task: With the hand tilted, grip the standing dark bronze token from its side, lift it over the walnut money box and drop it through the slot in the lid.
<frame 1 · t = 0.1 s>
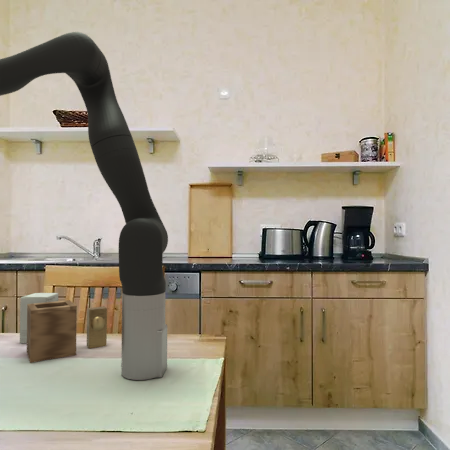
coin box: (51, 353, 91), on the table
token: (96, 345, 97), on the table
supplement box: (39, 340, 102), on the table
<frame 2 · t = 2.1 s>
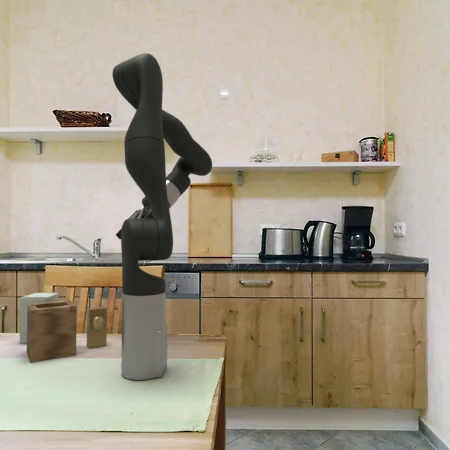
hand: (122, 237, 101), 29 cm above the table, tool tilted 45°, fingers open, 8 cm apart
nothing on the table moved.
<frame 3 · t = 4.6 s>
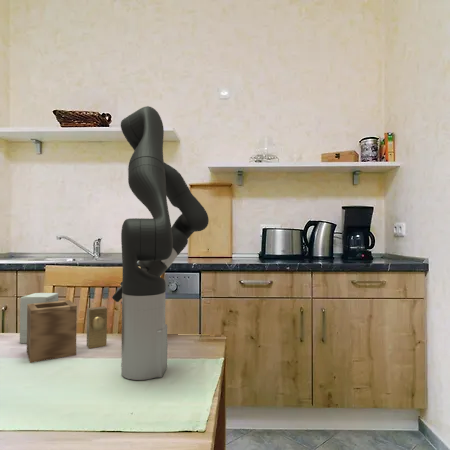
hand: (118, 302, 100), 11 cm above the table, tool tilted 45°, fingers open, 8 cm apart
nothing on the table moved.
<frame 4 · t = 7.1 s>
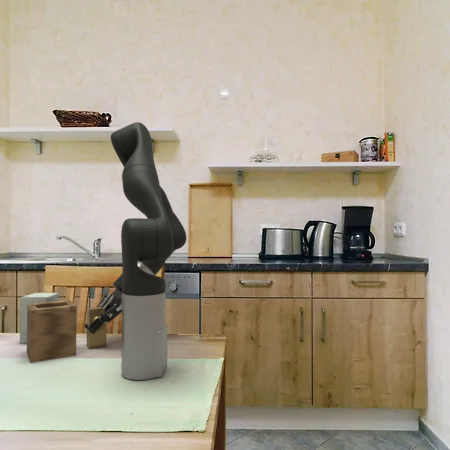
hand: (88, 330, 96), 4 cm above the table, tool tilted 45°, fingers closed on token, 2 cm apart
token: (96, 345, 97), on the table, touching gripper
everything else where it was.
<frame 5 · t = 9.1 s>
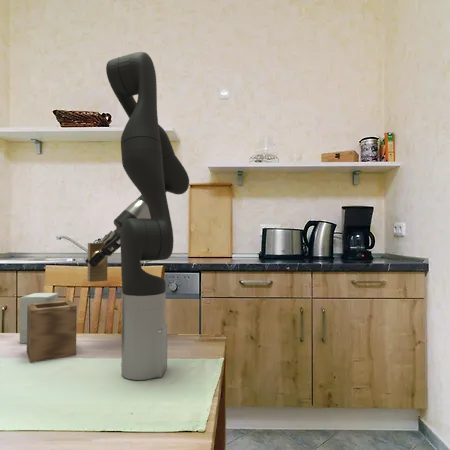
hand: (89, 264, 96), 22 cm above the table, tool tilted 45°, fingers closed on token, 2 cm apart
token: (97, 280, 97), point 17 cm above the table, touching gripper
everything else where it was.
when the fingers open (18 cm above the table, at t = 10.9 s): token drops 13 cm, resting on coin box.
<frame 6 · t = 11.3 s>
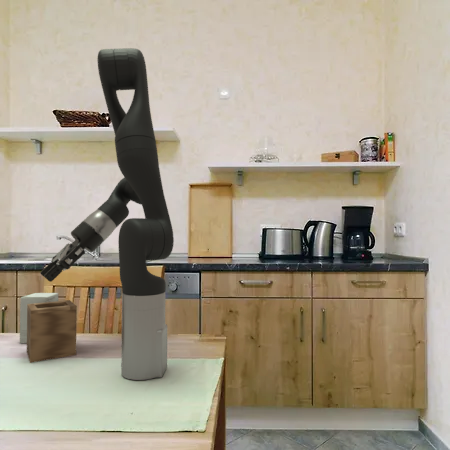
hand: (45, 277, 90), 19 cm above the table, tool tilted 45°, fingers open, 7 cm apart
token: (51, 349, 91), point 1 cm above the table, tilted 6°, touching coin box
everything else where it was.
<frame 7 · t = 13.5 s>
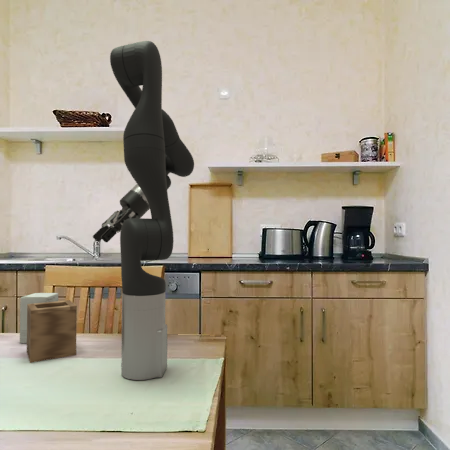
hand: (99, 239, 98), 28 cm above the table, tool tilted 45°, fingers open, 8 cm apart
token: (51, 350, 91), point 1 cm above the table, touching coin box
everything else where it was.
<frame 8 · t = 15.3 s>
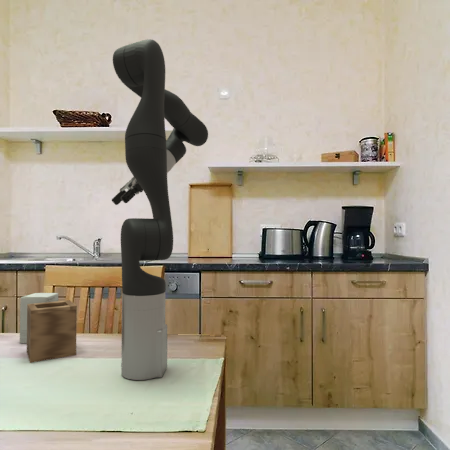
hand: (118, 201, 102), 39 cm above the table, tool tilted 45°, fingers open, 8 cm apart
nothing on the table moved.
at the end: token 0.1 cm from the coin box (horizontally); token point 0.6 cm above the table; the gripper is holding nothing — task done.
